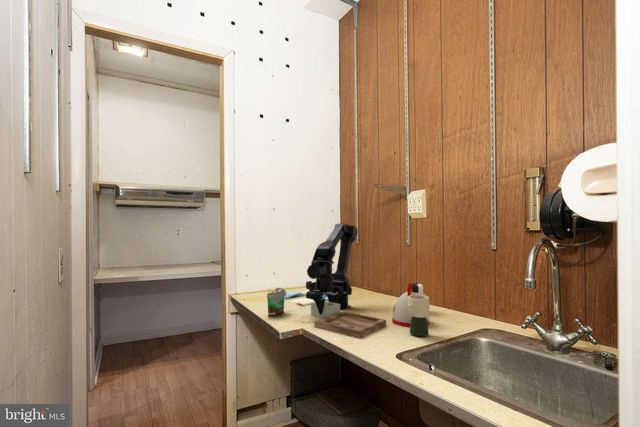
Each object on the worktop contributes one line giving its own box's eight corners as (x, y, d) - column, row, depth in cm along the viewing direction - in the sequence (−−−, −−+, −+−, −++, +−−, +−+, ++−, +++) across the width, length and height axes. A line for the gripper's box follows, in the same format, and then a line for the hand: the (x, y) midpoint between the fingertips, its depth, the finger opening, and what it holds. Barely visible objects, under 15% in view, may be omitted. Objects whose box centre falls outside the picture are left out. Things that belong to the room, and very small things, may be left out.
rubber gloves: (269, 298, 179) (269, 286, 179) (315, 289, 201) (315, 279, 201) (302, 307, 159) (302, 293, 159) (349, 297, 181) (349, 285, 181)
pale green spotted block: (320, 311, 149) (320, 300, 149) (340, 316, 142) (340, 303, 142) (311, 314, 145) (310, 302, 145) (331, 319, 137) (331, 306, 138)
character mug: (420, 329, 123) (419, 293, 124) (437, 334, 118) (436, 296, 118) (400, 335, 117) (400, 297, 117) (417, 341, 111) (417, 300, 112)
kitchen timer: (389, 325, 128) (388, 285, 129) (395, 316, 141) (394, 279, 142) (427, 329, 123) (427, 287, 124) (430, 319, 136) (429, 281, 137)
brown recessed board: (343, 316, 141) (343, 311, 141) (386, 325, 128) (386, 319, 128) (314, 326, 127) (314, 320, 127) (359, 338, 114) (359, 331, 114)
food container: (281, 318, 139) (281, 293, 140) (266, 317, 140) (266, 293, 141) (289, 310, 151) (289, 288, 152) (276, 310, 153) (276, 287, 153)
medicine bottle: (406, 313, 146) (406, 284, 146) (408, 309, 152) (408, 282, 153) (424, 314, 143) (423, 285, 143) (425, 310, 150) (425, 283, 150)
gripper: (324, 271, 156) (325, 305, 156) (296, 276, 142) (296, 314, 141) (344, 273, 149) (344, 309, 148) (316, 279, 135) (316, 318, 134)
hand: (325, 312), depth 143 cm, fingers closed on pale green spotted block, 6 cm apart
